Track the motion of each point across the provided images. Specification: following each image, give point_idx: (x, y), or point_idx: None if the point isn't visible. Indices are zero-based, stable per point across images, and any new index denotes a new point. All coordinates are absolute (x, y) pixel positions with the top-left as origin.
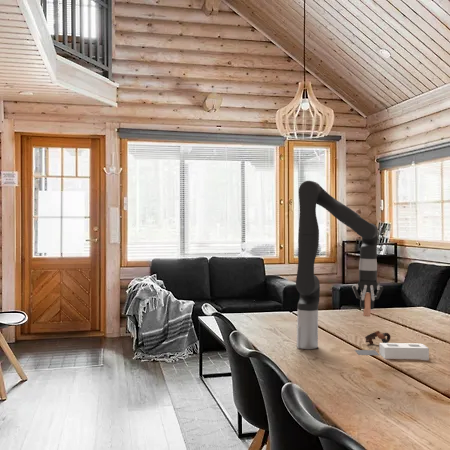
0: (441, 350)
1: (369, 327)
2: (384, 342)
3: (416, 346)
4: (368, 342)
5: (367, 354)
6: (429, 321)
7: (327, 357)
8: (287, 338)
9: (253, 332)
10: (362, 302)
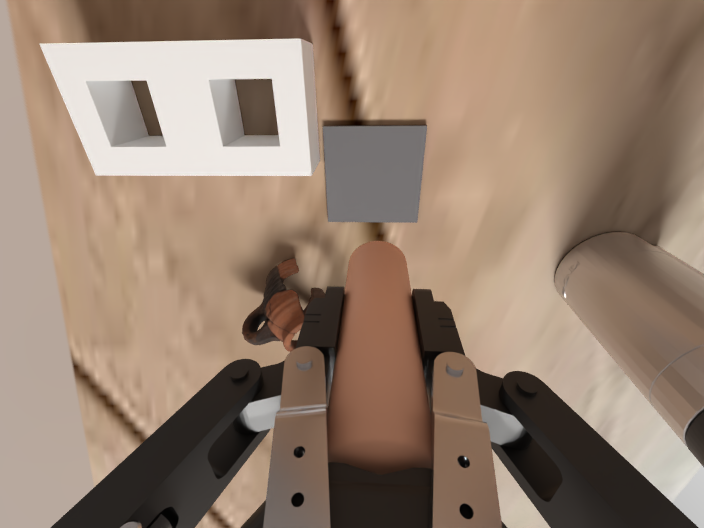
0: (65, 247)
1: None
2: (275, 279)
3: (126, 144)
4: None
5: (380, 136)
6: None
7: (607, 71)
8: (602, 387)
9: (677, 448)
10: (442, 340)
